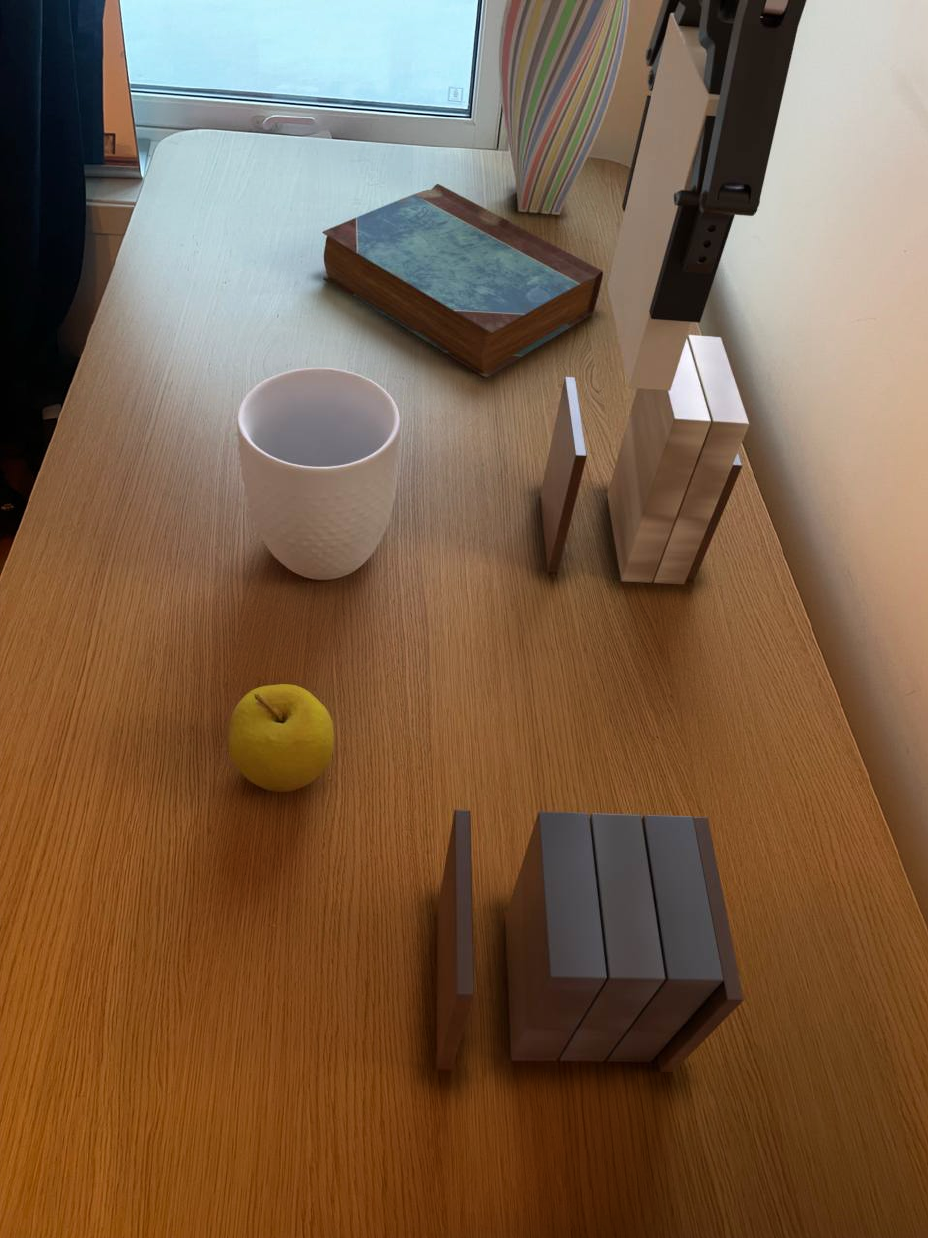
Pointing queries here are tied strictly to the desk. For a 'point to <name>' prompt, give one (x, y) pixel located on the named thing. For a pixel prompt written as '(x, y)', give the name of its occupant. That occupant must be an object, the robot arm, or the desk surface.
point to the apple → (280, 737)
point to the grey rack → (597, 940)
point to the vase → (556, 89)
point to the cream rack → (656, 468)
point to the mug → (319, 467)
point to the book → (461, 277)
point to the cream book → (659, 209)
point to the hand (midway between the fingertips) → (658, 260)
